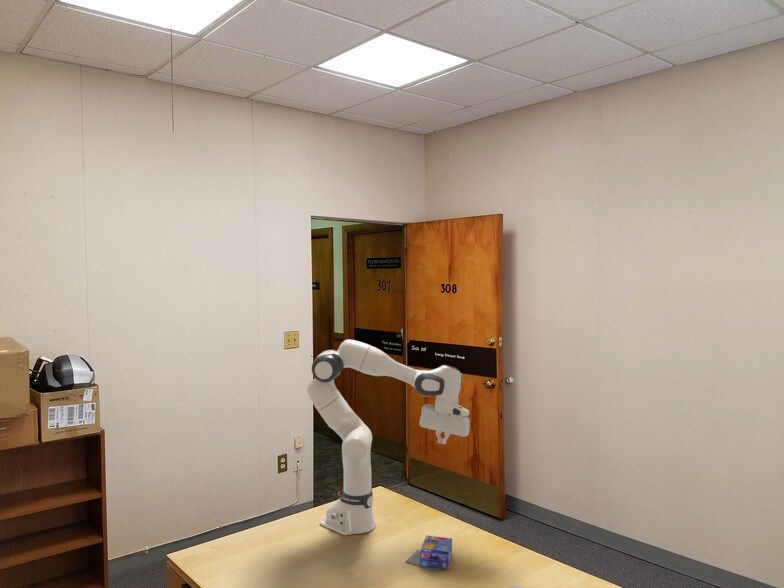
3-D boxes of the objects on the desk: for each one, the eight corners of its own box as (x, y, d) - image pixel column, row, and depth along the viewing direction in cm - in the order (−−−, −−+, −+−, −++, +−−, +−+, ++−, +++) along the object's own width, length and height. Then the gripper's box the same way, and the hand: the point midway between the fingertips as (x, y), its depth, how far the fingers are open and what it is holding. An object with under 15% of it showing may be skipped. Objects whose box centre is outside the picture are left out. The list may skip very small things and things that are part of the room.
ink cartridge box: (452, 537, 197) (447, 558, 183) (452, 552, 197) (447, 574, 183) (425, 534, 199) (418, 554, 185) (425, 549, 199) (418, 570, 185)
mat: (405, 562, 191) (405, 560, 191) (417, 551, 199) (417, 549, 199) (436, 571, 185) (436, 570, 185) (448, 559, 193) (448, 558, 193)
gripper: (419, 403, 217) (414, 438, 216) (467, 412, 206) (462, 450, 205) (426, 402, 222) (421, 437, 221) (473, 412, 212) (468, 448, 211)
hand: (441, 443), depth 213 cm, fingers closed
